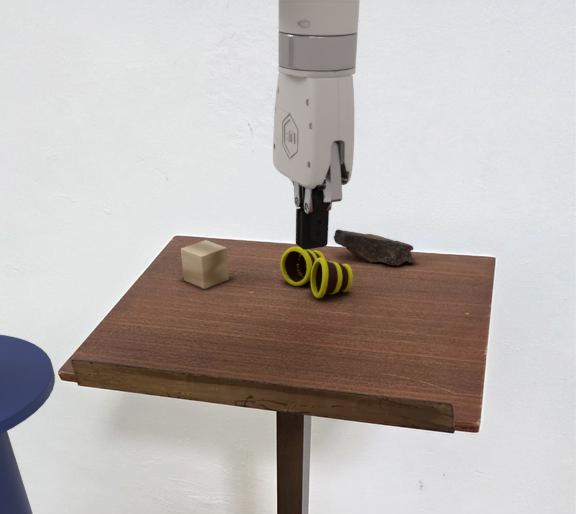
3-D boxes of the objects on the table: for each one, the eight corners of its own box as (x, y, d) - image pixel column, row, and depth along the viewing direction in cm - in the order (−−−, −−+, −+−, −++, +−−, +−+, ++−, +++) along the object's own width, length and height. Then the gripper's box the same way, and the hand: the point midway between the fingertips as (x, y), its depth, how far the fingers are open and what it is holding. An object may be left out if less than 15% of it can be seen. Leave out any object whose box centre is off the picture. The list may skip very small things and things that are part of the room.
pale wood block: (204, 289, 99) (201, 256, 96) (183, 280, 101) (180, 248, 99) (229, 279, 101) (226, 247, 99) (208, 271, 104) (205, 239, 101)
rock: (412, 276, 108) (427, 245, 104) (391, 291, 103) (406, 260, 100) (346, 233, 110) (358, 202, 106) (323, 246, 106) (335, 214, 102)
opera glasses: (352, 301, 97) (359, 262, 94) (321, 303, 94) (327, 263, 91) (307, 278, 103) (313, 241, 100) (277, 280, 100) (281, 242, 98)
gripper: (251, 46, 76) (254, 230, 87) (317, 68, 65) (311, 274, 76) (317, 43, 78) (311, 222, 90) (391, 63, 68) (374, 263, 79)
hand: (311, 245), depth 83 cm, fingers closed
